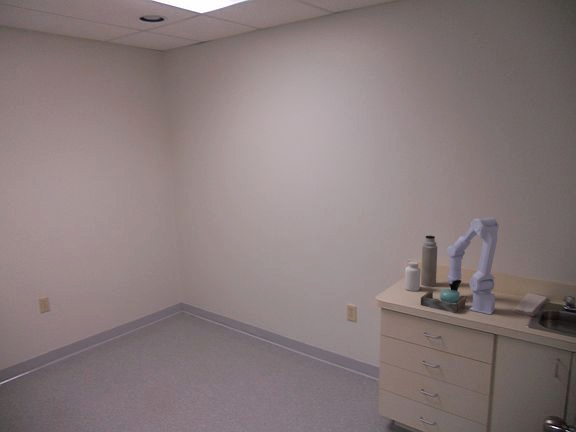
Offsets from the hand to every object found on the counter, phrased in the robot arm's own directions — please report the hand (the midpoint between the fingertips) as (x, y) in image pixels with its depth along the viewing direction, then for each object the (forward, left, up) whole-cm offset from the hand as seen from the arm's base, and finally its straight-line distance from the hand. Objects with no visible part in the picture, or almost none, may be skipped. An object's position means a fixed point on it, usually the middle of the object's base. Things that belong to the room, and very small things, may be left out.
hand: (454, 293), depth 219 cm
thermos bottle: (+18, -12, -2) cm, 21 cm away
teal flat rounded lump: (0, +6, -2) cm, 6 cm away
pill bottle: (+22, +1, -2) cm, 22 cm away
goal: (0, +16, -2) cm, 16 cm away
